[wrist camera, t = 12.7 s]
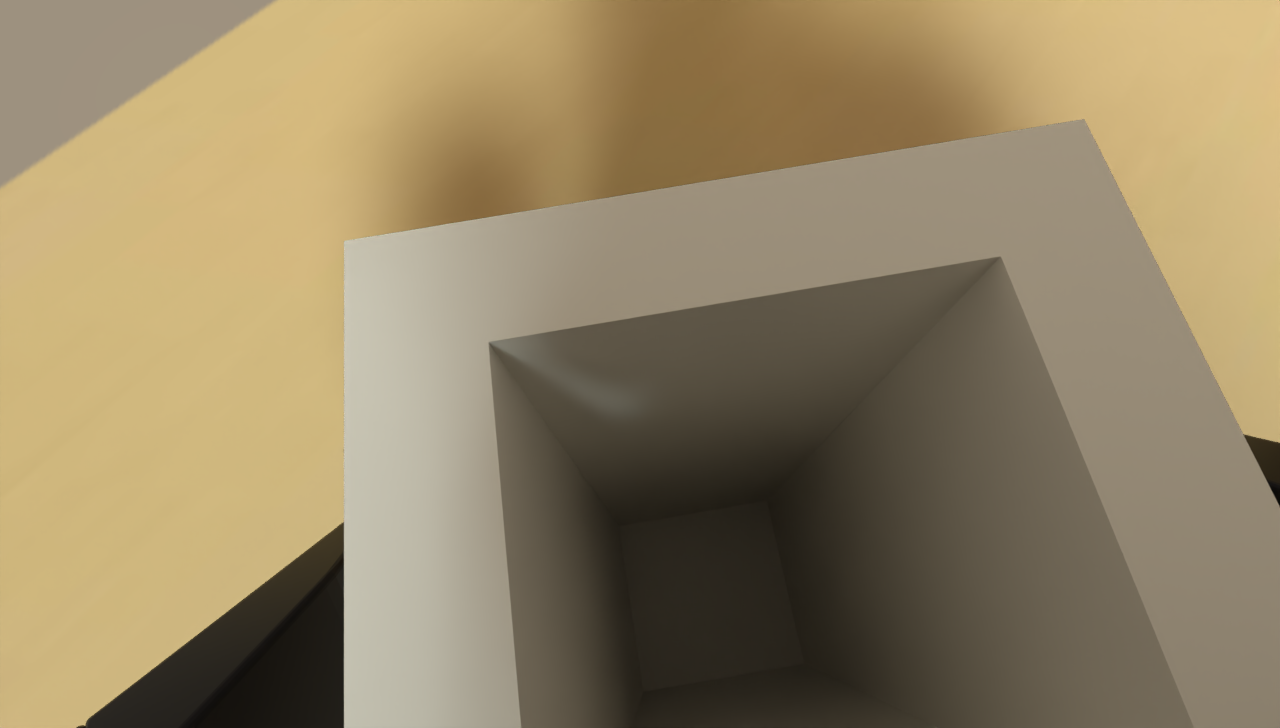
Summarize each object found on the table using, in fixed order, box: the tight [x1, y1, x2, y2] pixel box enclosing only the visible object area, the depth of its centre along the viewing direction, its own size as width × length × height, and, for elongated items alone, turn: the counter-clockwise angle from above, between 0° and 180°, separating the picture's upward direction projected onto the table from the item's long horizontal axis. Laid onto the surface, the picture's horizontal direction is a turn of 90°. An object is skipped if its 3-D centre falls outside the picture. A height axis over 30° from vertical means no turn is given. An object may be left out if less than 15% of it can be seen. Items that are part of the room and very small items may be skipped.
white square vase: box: [344, 119, 1280, 728], centre depth 10 cm, size 6×6×12 cm
